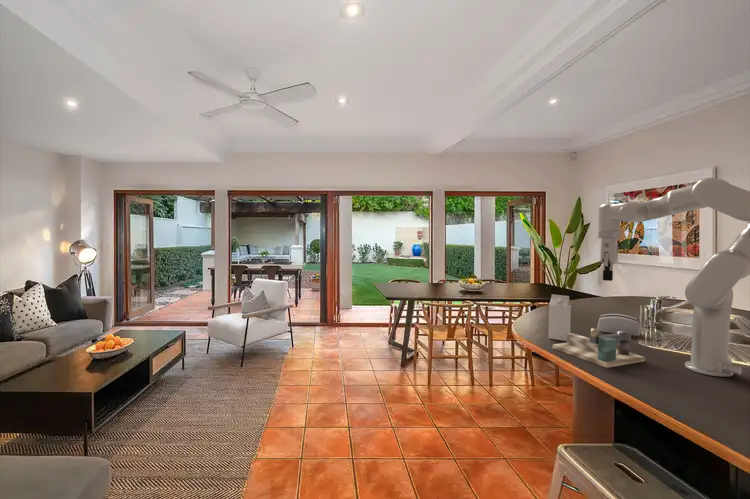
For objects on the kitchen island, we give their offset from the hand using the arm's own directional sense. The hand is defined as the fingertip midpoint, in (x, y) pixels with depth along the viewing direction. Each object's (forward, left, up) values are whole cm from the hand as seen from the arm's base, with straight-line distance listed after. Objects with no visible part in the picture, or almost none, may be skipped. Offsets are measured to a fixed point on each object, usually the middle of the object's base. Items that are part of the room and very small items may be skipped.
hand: (607, 280), depth 158 cm
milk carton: (+16, +8, -27) cm, 33 cm away
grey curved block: (+13, -25, -28) cm, 39 cm away
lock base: (-6, +13, -27) cm, 31 cm away
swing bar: (-12, +13, -21) cm, 27 cm away
